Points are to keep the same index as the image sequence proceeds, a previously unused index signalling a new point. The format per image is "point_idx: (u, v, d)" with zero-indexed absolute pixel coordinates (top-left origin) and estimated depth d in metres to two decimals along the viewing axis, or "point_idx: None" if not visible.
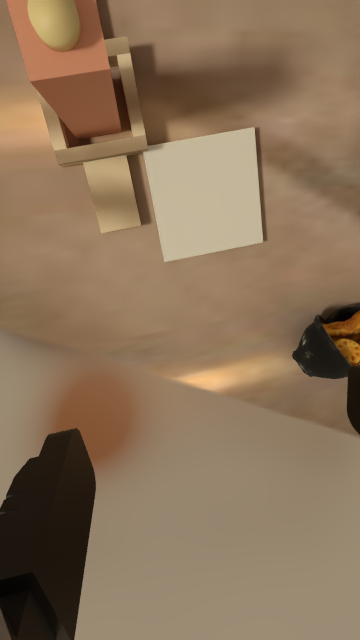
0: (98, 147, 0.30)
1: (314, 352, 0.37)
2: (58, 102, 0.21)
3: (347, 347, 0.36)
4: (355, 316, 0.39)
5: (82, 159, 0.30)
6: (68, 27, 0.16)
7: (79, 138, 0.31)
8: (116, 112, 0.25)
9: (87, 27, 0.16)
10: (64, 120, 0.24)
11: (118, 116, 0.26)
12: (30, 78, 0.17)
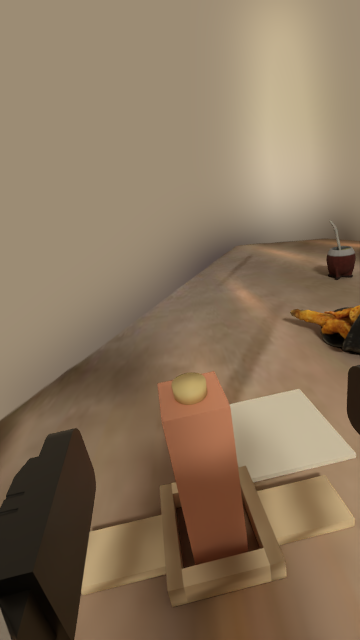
0: (254, 511, 0.26)
1: None
2: None
3: (356, 314, 0.48)
4: (330, 329, 0.52)
5: (271, 529, 0.25)
6: (196, 375, 0.22)
7: (247, 549, 0.25)
8: None
9: None
10: (240, 492, 0.23)
11: None
12: (228, 406, 0.20)
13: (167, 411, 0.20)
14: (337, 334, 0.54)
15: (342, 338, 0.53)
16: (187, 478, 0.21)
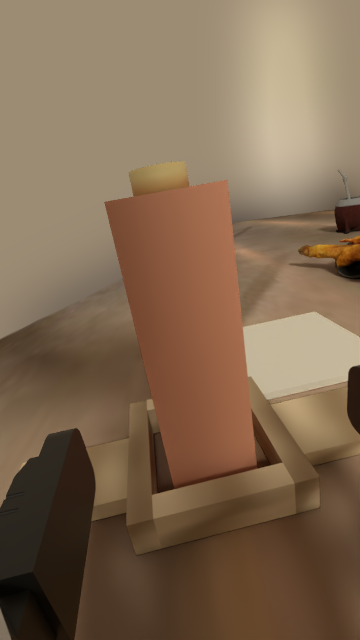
0: (265, 421, 0.18)
1: None
2: None
3: None
4: (348, 257, 0.44)
5: (293, 440, 0.16)
6: None
7: None
8: None
9: None
10: None
11: None
12: None
13: None
14: (355, 266, 0.46)
15: None
16: (157, 331, 0.13)
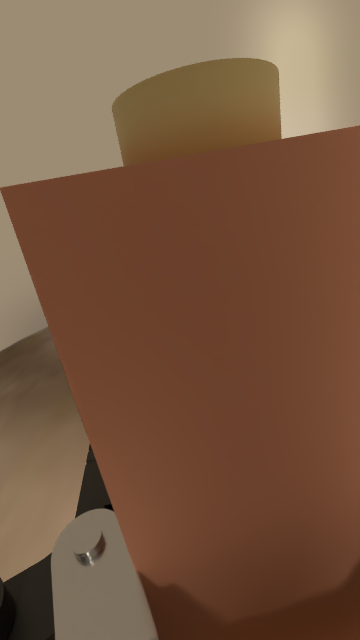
0: None
1: None
2: None
3: None
4: None
5: None
6: None
7: None
8: None
9: None
10: None
11: None
12: None
13: None
14: None
15: None
16: (192, 555, 0.05)
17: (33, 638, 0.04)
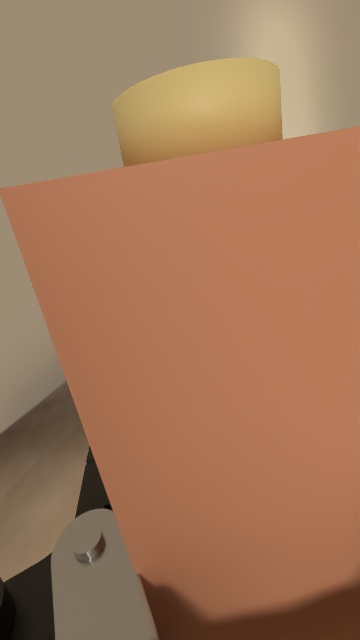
0: None
1: None
2: None
3: None
4: None
5: None
6: None
7: None
8: None
9: None
10: None
11: None
12: None
13: None
14: None
15: None
16: (193, 557, 0.05)
17: (33, 638, 0.04)
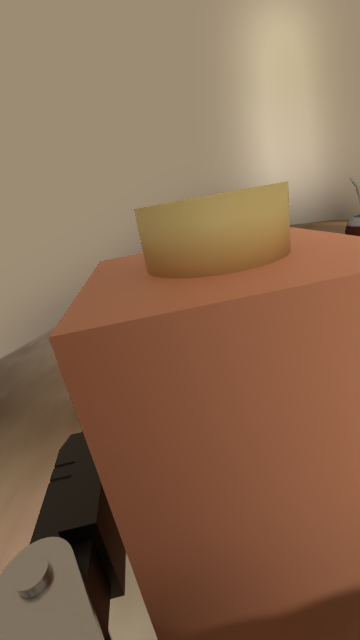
0: None
1: None
2: None
3: None
4: None
5: None
6: None
7: None
8: None
9: None
10: None
11: None
12: None
13: (103, 301, 0.04)
14: None
15: None
16: (207, 616, 0.05)
17: None
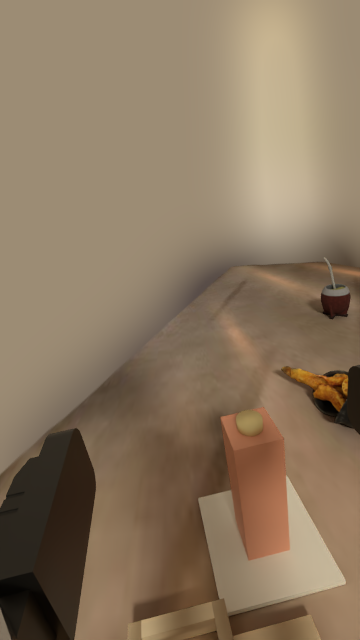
0: None
1: None
2: None
3: None
4: (322, 397, 0.49)
5: None
6: (253, 412, 0.29)
7: None
8: None
9: None
10: (286, 501, 0.30)
11: None
12: (282, 438, 0.27)
13: (235, 441, 0.27)
14: None
15: None
16: (248, 491, 0.28)
17: None
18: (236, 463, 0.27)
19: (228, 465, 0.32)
